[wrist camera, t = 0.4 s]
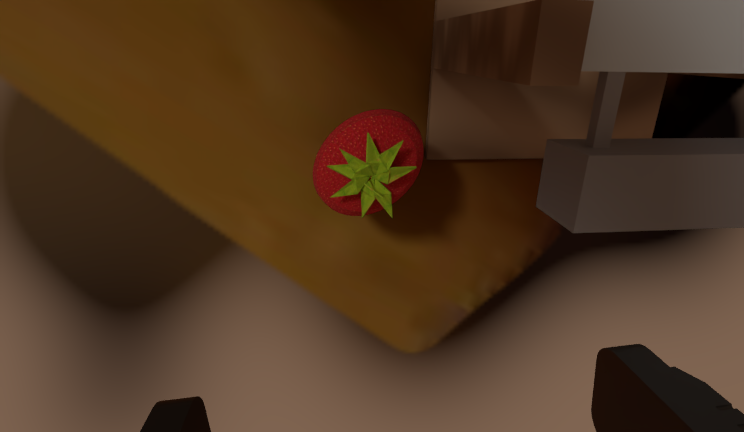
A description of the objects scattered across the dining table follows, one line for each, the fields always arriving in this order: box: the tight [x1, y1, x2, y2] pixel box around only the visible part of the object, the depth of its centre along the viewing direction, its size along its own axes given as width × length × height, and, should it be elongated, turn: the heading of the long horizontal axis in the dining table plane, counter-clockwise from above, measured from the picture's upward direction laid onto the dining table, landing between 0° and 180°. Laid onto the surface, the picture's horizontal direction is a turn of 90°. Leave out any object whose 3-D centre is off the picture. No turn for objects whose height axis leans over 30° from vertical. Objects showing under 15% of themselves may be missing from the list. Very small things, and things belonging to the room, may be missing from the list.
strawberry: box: [313, 109, 424, 219], centre depth 27 cm, size 6×8×10 cm
